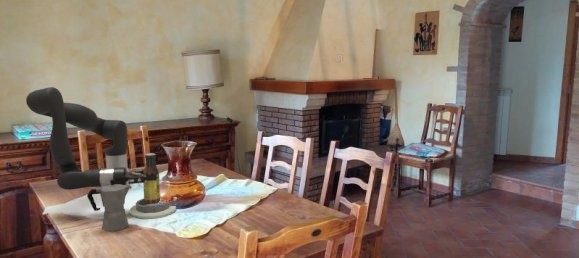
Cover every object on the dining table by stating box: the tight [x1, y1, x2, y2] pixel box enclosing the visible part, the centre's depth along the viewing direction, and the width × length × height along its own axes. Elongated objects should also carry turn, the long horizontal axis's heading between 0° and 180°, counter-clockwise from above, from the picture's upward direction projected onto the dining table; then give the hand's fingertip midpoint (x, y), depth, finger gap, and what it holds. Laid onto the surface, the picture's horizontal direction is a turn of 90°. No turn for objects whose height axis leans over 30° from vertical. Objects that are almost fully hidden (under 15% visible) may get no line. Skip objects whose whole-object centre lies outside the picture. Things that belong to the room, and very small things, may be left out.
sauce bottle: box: [142, 153, 161, 204], centre depth 184 cm, size 7×6×20 cm
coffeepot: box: [86, 180, 132, 232], centre depth 167 cm, size 15×9×18 cm, turn 122°
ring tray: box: [129, 197, 177, 220], centre depth 186 cm, size 18×18×4 cm
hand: (157, 175), depth 184 cm, fingers closed on sauce bottle, 6 cm apart
